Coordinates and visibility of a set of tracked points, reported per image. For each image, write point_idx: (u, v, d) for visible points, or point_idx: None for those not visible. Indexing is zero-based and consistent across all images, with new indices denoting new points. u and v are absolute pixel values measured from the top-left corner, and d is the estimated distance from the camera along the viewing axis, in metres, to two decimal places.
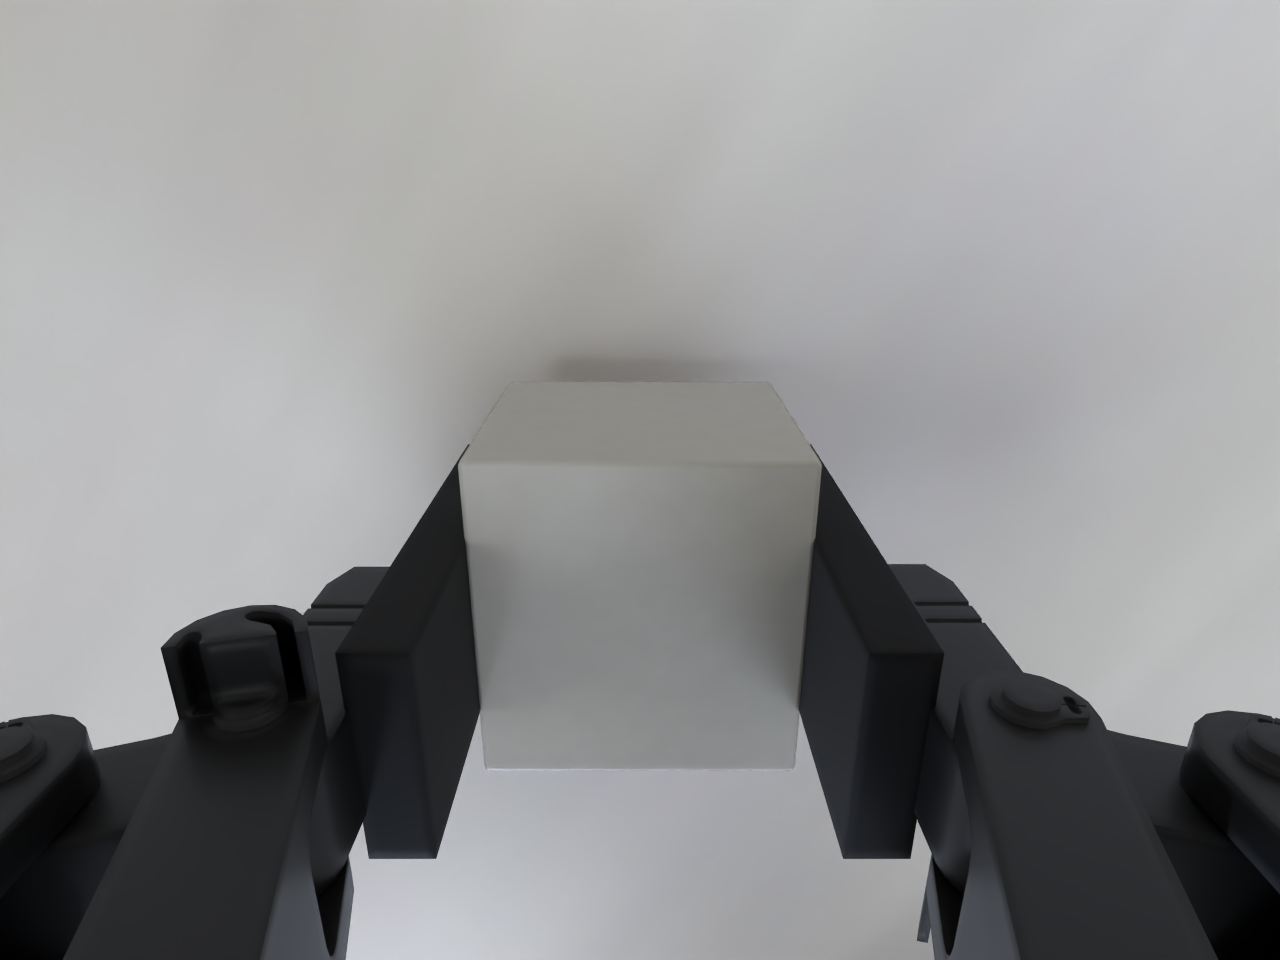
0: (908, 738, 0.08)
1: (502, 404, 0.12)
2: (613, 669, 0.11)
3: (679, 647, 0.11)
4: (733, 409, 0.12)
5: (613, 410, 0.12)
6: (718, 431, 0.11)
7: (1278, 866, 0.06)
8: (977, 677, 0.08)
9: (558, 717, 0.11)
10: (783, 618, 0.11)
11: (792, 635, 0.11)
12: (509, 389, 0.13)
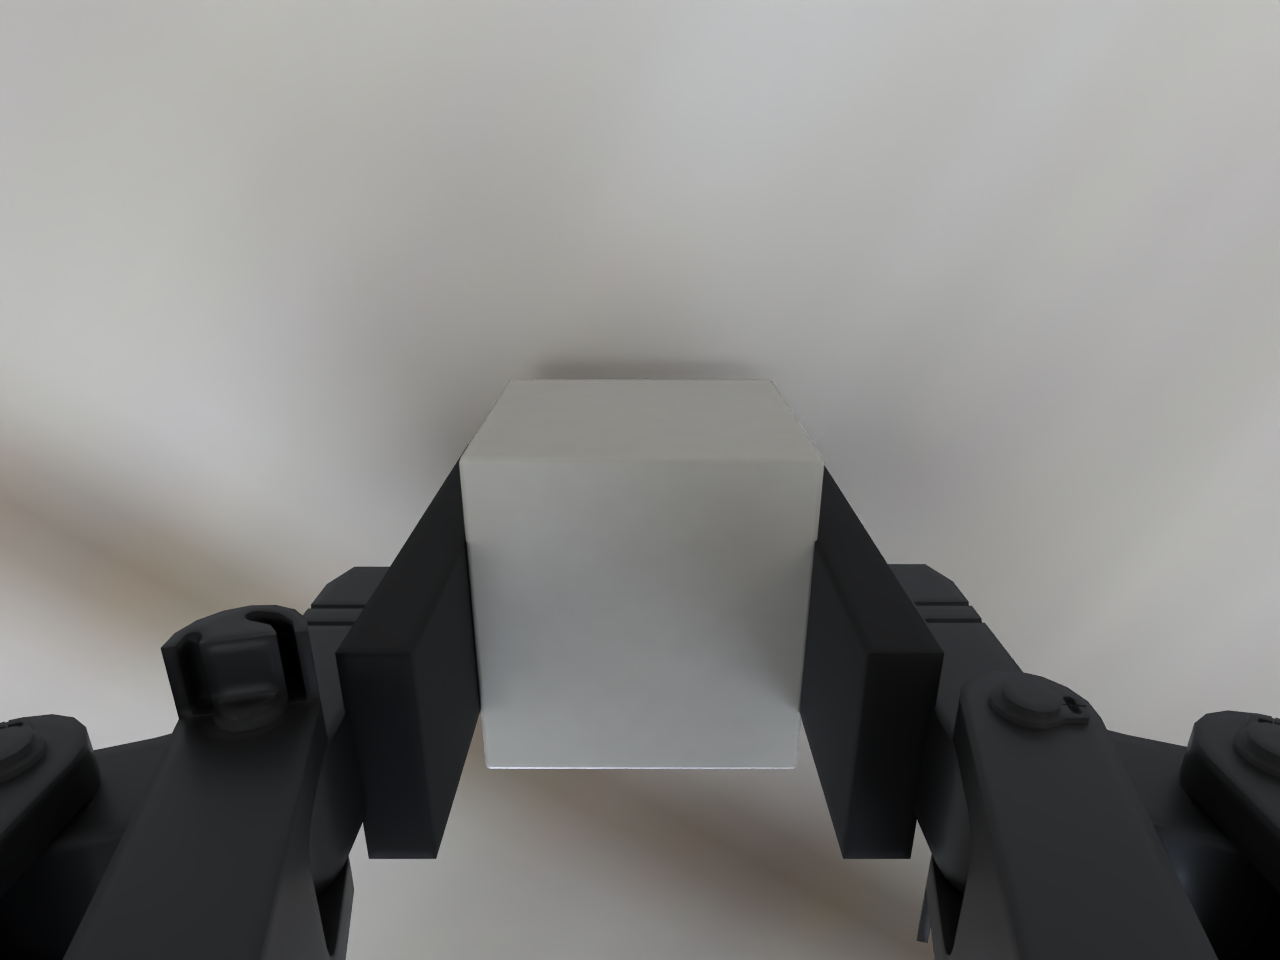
0: (908, 738, 0.08)
1: (503, 400, 0.12)
2: (614, 667, 0.11)
3: (681, 645, 0.11)
4: (734, 406, 0.12)
5: (614, 408, 0.12)
6: (720, 429, 0.11)
7: (1278, 866, 0.06)
8: (977, 677, 0.08)
9: (558, 715, 0.11)
10: (785, 616, 0.11)
11: (793, 633, 0.11)
12: (509, 386, 0.13)
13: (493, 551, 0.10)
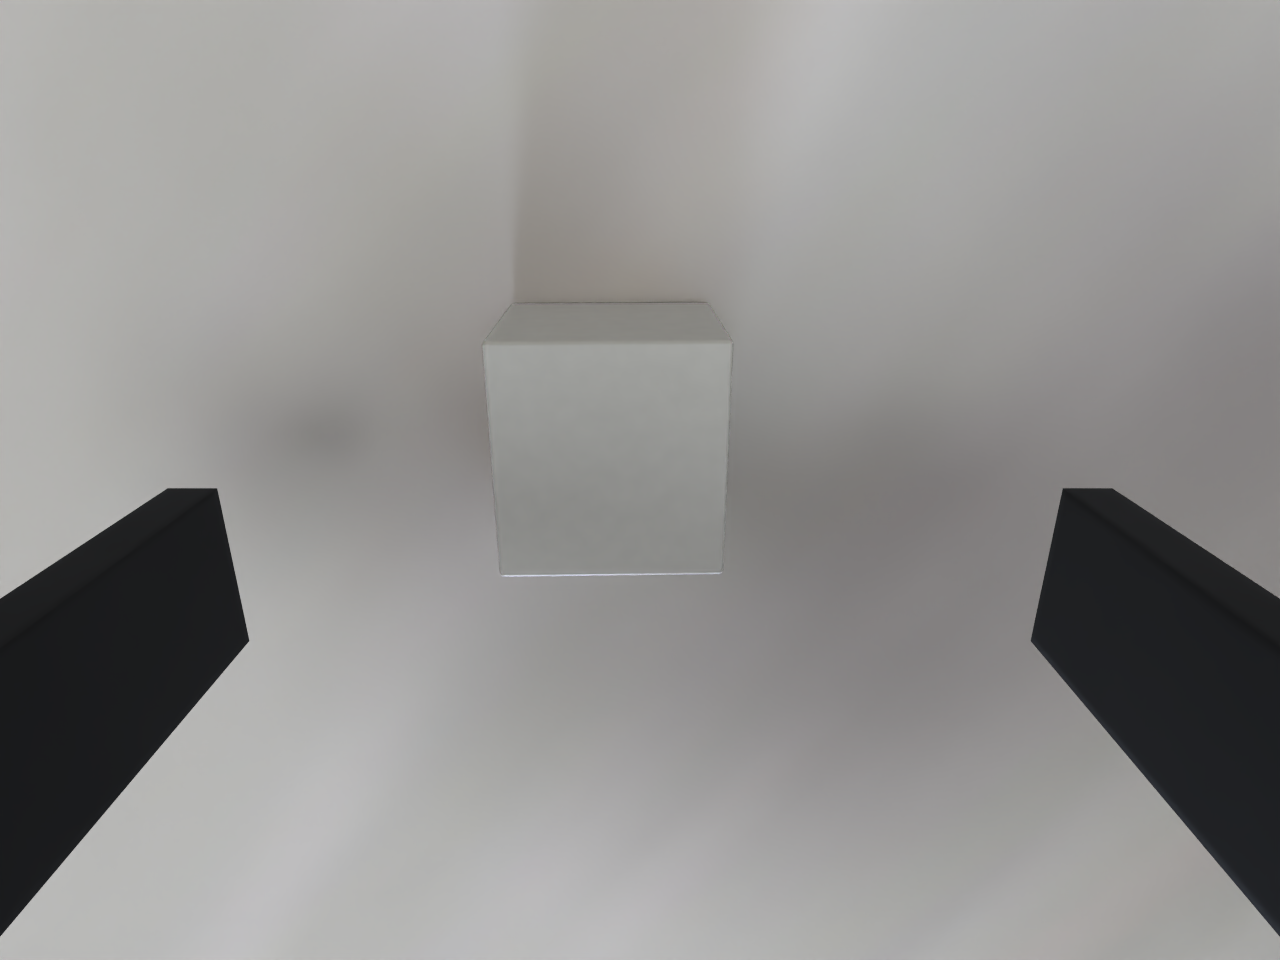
0: None
1: (508, 315, 0.17)
2: (591, 496, 0.15)
3: (638, 479, 0.15)
4: (677, 316, 0.16)
5: (590, 317, 0.16)
6: (664, 327, 0.15)
7: None
8: None
9: (552, 534, 0.16)
10: (710, 456, 0.15)
11: (717, 469, 0.15)
12: (512, 307, 0.17)
13: (506, 410, 0.15)
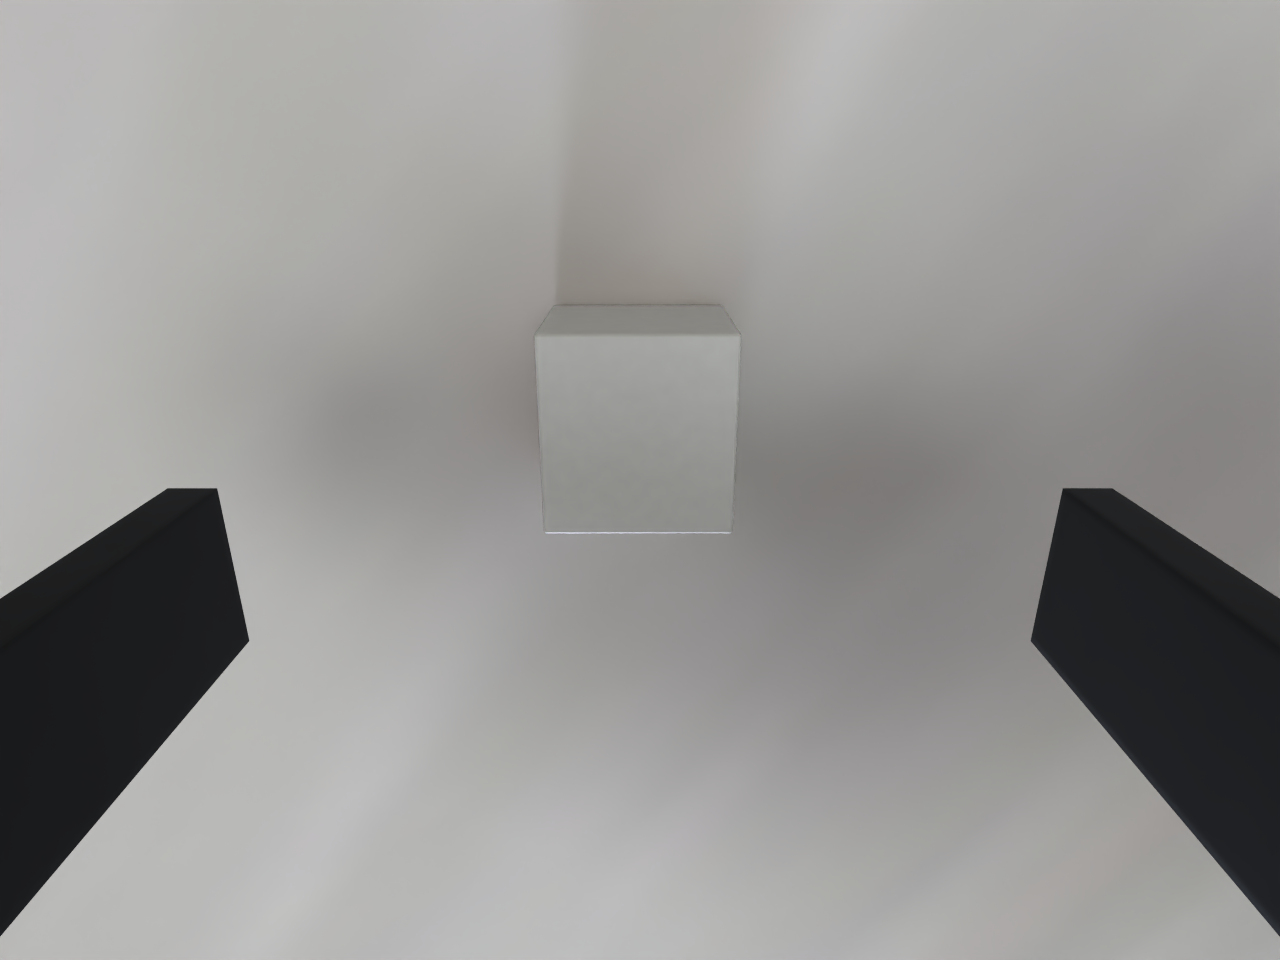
0: None
1: (552, 314, 0.20)
2: (622, 465, 0.18)
3: (661, 450, 0.18)
4: (695, 315, 0.19)
5: (621, 316, 0.19)
6: (684, 323, 0.18)
7: None
8: None
9: (588, 497, 0.19)
10: (722, 431, 0.18)
11: (727, 442, 0.18)
12: (554, 307, 0.21)
13: (552, 390, 0.18)
